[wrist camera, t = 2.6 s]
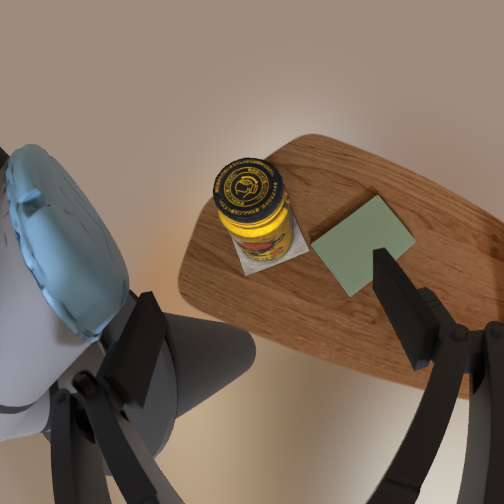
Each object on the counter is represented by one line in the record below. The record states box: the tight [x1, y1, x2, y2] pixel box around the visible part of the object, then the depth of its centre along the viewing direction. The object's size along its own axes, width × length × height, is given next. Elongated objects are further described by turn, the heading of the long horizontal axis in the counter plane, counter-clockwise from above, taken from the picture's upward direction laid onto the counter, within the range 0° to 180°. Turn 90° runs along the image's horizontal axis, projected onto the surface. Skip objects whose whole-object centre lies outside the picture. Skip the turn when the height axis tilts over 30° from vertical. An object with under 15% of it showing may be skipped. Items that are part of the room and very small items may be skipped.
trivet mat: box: [311, 195, 416, 297], centre depth 30 cm, size 10×7×1 cm
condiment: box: [213, 158, 309, 276], centre depth 27 cm, size 7×8×12 cm
